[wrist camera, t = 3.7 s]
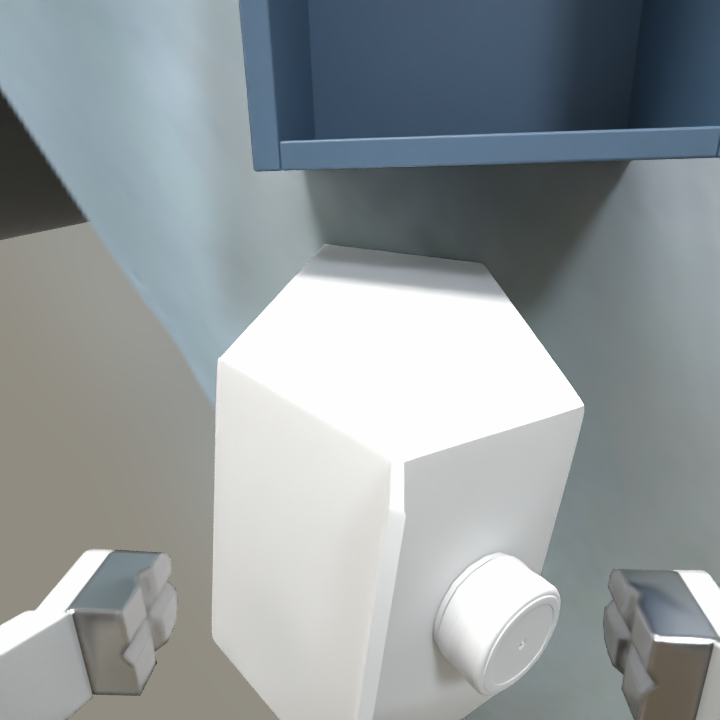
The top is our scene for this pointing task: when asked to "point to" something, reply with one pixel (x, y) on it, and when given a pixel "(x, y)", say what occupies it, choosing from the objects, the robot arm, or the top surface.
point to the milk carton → (387, 490)
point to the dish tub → (479, 81)
